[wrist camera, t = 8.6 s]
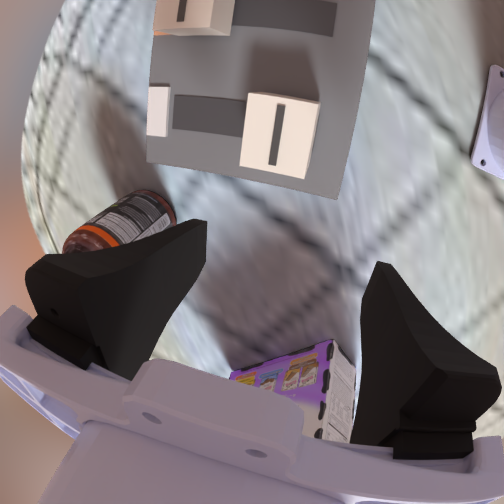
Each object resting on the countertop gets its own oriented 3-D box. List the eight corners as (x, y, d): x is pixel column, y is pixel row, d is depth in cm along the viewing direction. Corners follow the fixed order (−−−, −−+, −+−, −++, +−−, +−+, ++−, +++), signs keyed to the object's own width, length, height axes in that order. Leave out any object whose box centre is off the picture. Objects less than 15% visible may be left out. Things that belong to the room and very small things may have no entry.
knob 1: (237, -18, 13) (219, -35, 10) (229, 35, 15) (208, 27, 12) (186, -16, 13) (161, -29, 10) (178, 35, 15) (151, 30, 12)
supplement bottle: (157, 258, 28) (87, 338, 19) (115, 215, 27) (32, 281, 18) (192, 222, 25) (113, 308, 16) (144, 173, 24) (46, 235, 15)
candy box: (259, 395, 36) (221, 508, 22) (230, 369, 35) (179, 490, 21) (358, 368, 29) (343, 516, 16) (332, 336, 28) (306, 503, 14)
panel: (378, -84, 8) (381, -98, 6) (337, 190, 21) (337, 201, 19) (193, -91, 10) (181, -102, 8) (159, 155, 23) (144, 163, 21)
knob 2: (320, 102, 16) (318, 104, 13) (309, 164, 18) (303, 179, 15) (262, 92, 16) (247, 92, 13) (254, 153, 18) (238, 166, 16)
